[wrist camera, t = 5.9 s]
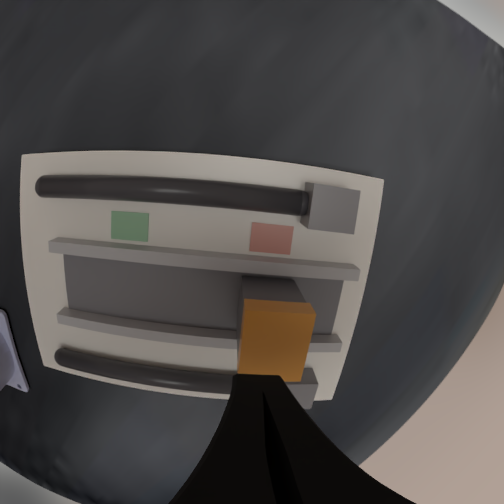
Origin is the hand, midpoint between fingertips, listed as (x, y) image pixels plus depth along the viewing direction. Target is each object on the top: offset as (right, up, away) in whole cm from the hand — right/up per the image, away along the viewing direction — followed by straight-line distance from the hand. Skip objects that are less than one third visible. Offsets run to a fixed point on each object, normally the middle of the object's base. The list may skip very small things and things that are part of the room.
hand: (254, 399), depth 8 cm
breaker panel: (-4, +3, +8) cm, 10 cm away
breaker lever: (+1, +2, +7) cm, 7 cm away
